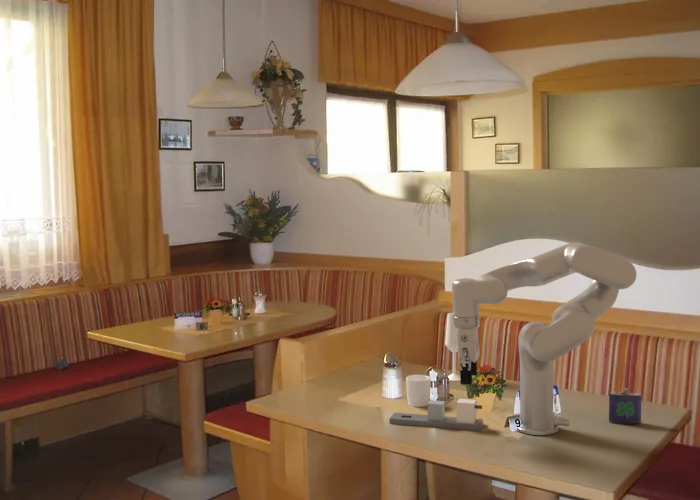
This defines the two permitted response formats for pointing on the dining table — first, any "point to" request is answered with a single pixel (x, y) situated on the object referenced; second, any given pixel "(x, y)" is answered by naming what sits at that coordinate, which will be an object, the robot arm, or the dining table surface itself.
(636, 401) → the flask
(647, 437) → the dining table surface
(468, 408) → the ivory charger
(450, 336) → the champagne flute
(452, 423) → the strip
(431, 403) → the grey block
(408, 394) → the white cup
